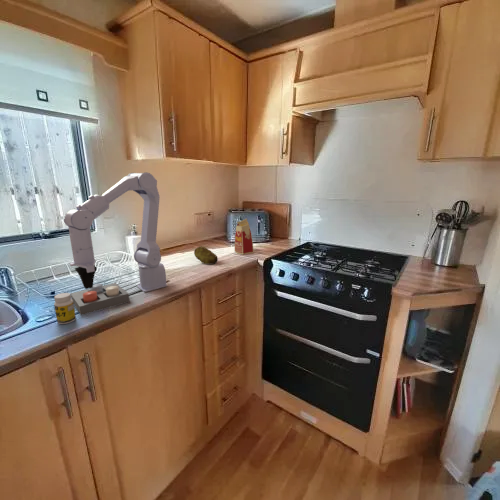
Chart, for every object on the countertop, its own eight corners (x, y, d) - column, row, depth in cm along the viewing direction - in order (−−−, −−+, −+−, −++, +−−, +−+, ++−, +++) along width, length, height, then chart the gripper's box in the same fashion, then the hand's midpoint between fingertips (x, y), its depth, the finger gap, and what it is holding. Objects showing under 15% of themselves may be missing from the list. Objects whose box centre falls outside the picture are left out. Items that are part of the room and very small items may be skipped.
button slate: (102, 290, 101) (100, 282, 100) (105, 294, 98) (104, 285, 98) (89, 293, 99) (88, 285, 98) (92, 297, 96) (91, 288, 95)
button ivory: (117, 293, 99) (116, 284, 98) (121, 296, 96) (120, 288, 96) (105, 296, 97) (104, 287, 96) (108, 299, 94) (107, 291, 93)
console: (116, 290, 107) (115, 282, 106) (129, 301, 97) (128, 293, 96) (71, 301, 97) (70, 293, 96) (81, 315, 87) (79, 306, 86)
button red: (96, 298, 95) (94, 290, 94) (99, 302, 92) (97, 293, 91) (82, 302, 92) (81, 293, 91) (85, 306, 89) (84, 296, 88)
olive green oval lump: (206, 267, 134) (205, 251, 132) (192, 261, 144) (191, 246, 142) (219, 263, 140) (219, 248, 138) (205, 258, 149) (204, 244, 147)
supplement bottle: (53, 324, 82) (48, 298, 80) (66, 316, 86) (61, 291, 84) (67, 325, 81) (62, 299, 79) (79, 317, 85) (75, 292, 83)
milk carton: (245, 249, 168) (245, 217, 163) (254, 253, 160) (254, 219, 155) (232, 251, 163) (232, 218, 158) (241, 255, 156) (240, 220, 151)
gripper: (63, 245, 90) (70, 284, 93) (72, 254, 79) (79, 297, 83) (87, 242, 94) (93, 279, 98) (99, 250, 84) (105, 291, 87)
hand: (88, 287), depth 91 cm, fingers closed
